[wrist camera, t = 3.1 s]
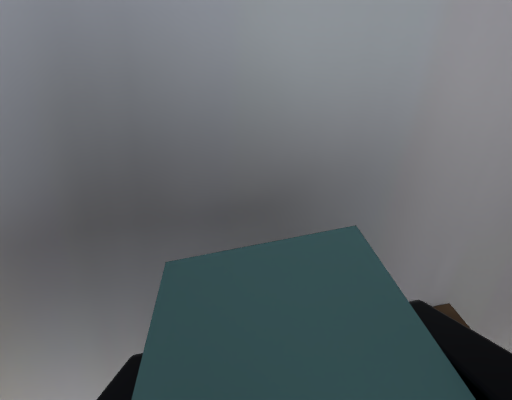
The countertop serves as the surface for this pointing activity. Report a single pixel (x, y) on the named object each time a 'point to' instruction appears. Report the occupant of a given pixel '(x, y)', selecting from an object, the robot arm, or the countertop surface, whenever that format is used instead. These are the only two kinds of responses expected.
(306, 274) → the tile
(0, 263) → the countertop surface
